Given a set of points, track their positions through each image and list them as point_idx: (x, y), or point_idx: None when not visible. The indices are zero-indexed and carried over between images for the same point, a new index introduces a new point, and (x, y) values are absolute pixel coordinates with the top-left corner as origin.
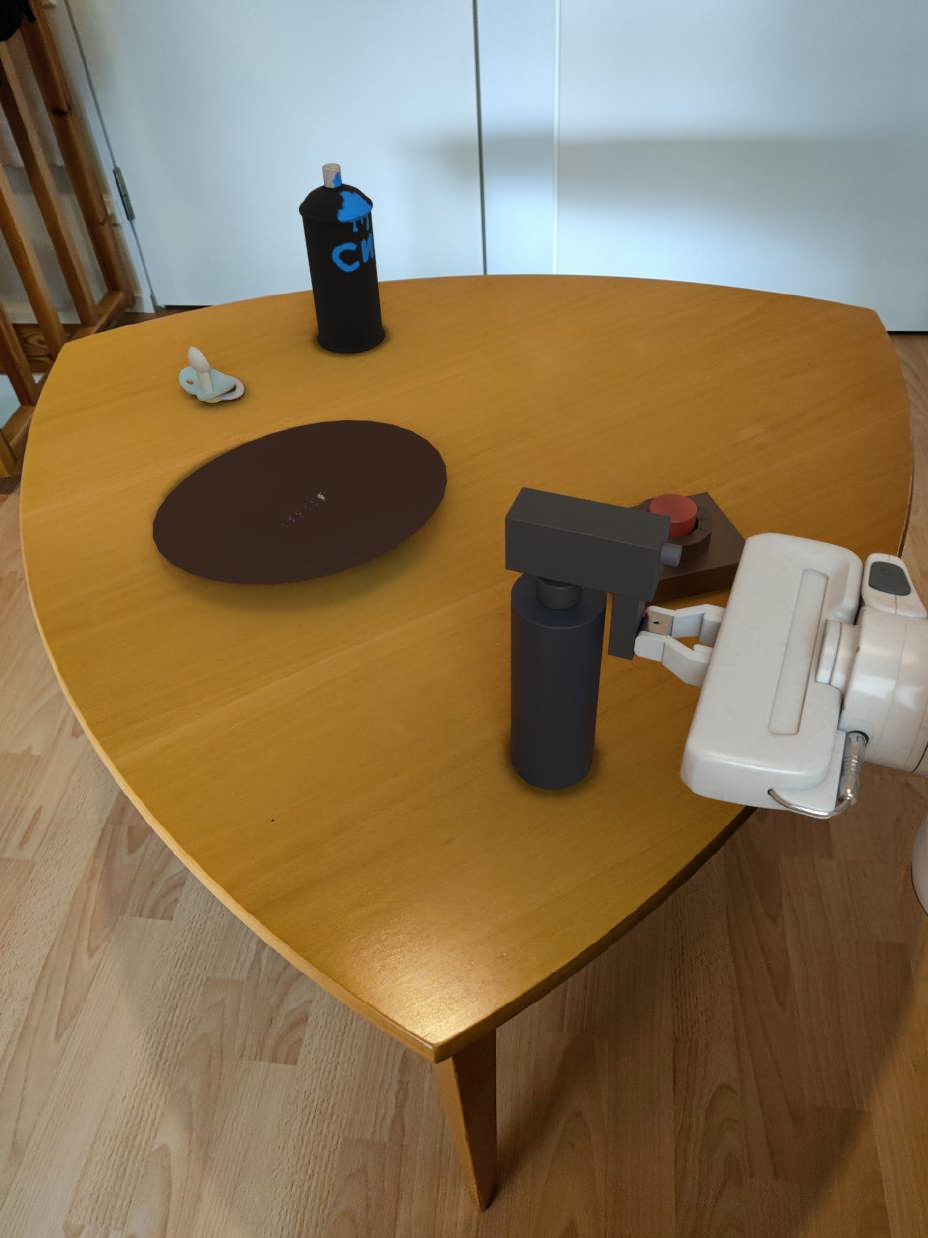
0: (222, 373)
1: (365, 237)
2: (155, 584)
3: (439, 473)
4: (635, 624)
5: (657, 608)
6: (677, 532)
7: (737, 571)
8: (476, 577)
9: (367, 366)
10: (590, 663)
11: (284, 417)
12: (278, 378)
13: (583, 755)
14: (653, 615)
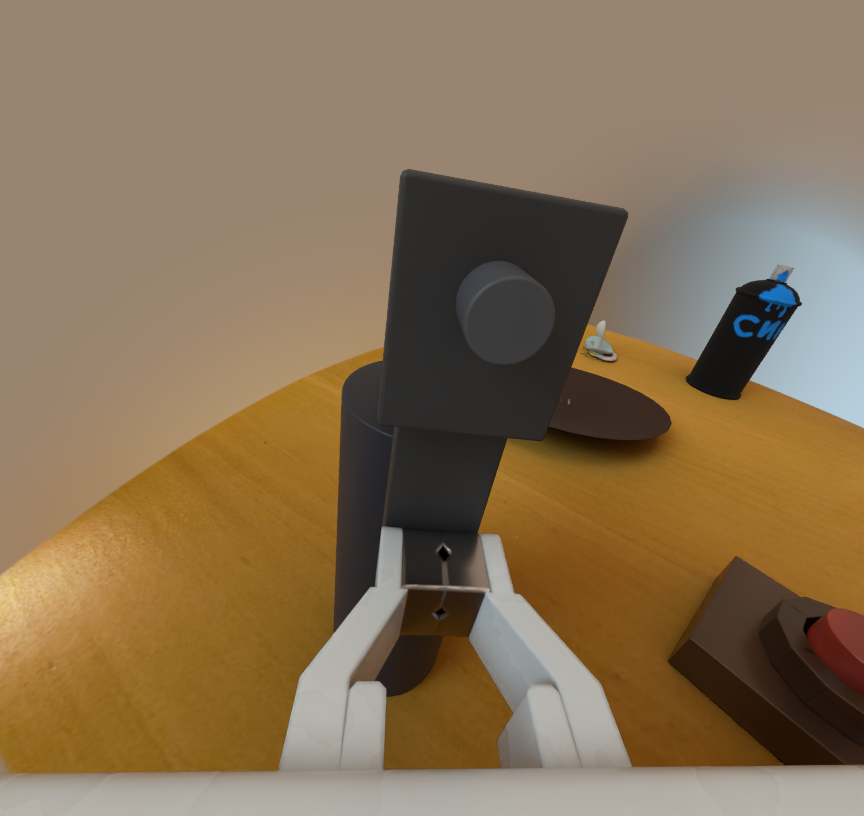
0: (611, 349)
1: (772, 320)
2: None
3: (647, 435)
4: (388, 491)
5: (497, 548)
6: (848, 675)
7: (844, 766)
8: (580, 500)
9: (700, 398)
10: (375, 525)
11: (613, 378)
12: (639, 370)
13: None
14: (466, 543)
